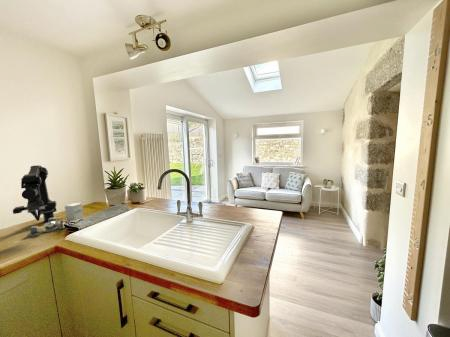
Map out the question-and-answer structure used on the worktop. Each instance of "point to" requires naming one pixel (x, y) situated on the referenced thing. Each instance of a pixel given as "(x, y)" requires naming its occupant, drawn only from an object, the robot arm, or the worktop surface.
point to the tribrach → (48, 228)
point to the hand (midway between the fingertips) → (38, 220)
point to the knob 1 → (36, 229)
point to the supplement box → (74, 211)
